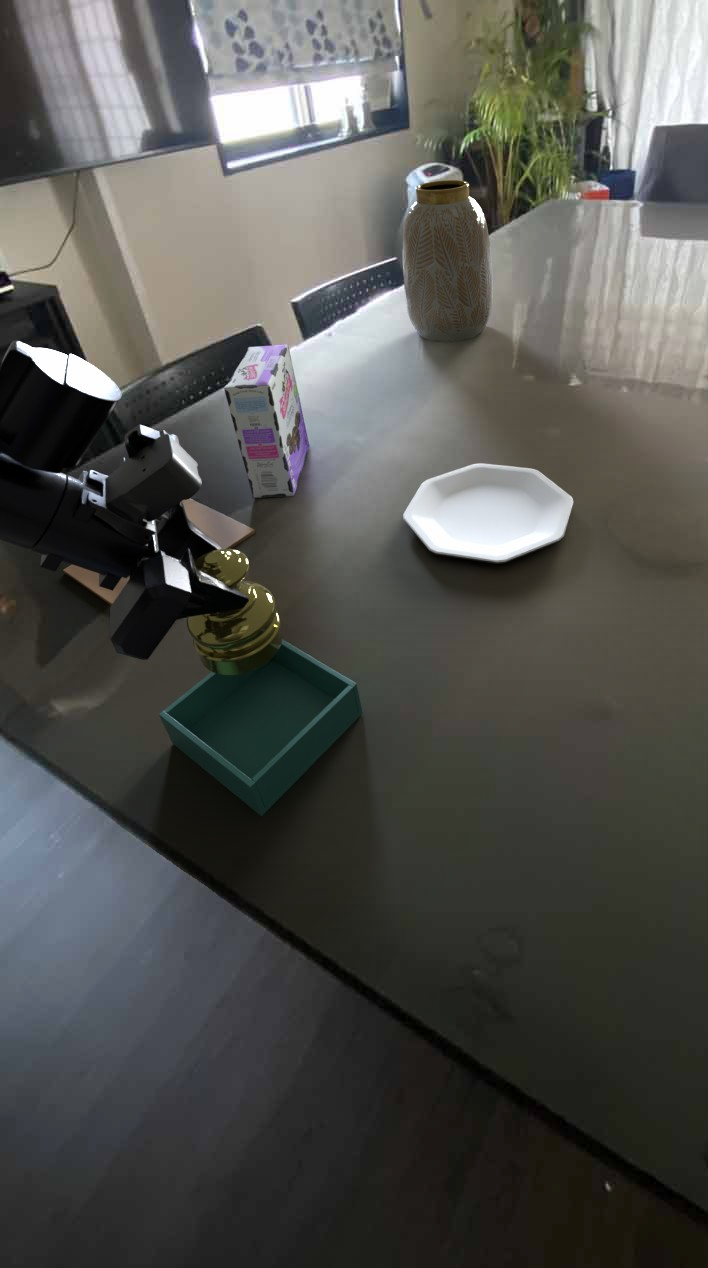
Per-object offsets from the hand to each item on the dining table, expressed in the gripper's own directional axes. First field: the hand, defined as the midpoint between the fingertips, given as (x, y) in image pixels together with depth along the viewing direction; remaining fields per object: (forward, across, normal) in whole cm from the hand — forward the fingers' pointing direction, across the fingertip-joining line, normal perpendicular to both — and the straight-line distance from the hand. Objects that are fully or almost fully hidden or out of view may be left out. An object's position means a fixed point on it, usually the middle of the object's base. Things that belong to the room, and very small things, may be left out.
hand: (241, 584), depth 57 cm
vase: (+46, +77, -28) cm, 94 cm away
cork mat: (+4, +28, +15) cm, 32 cm away
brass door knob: (+4, 0, +6) cm, 7 cm away
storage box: (+8, -4, +10) cm, 14 cm away
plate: (+31, +16, -12) cm, 36 cm away
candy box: (+16, +39, +3) cm, 42 cm away
